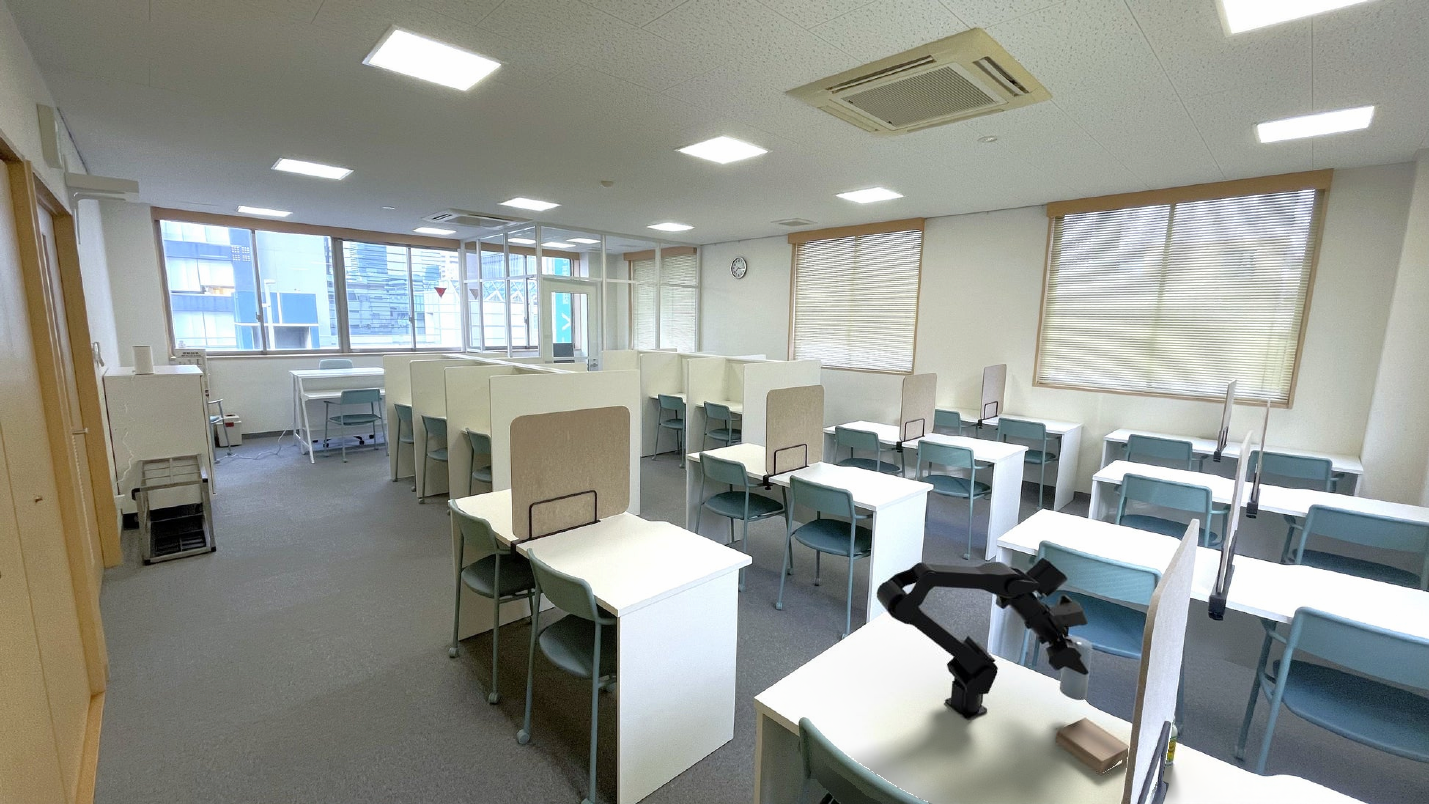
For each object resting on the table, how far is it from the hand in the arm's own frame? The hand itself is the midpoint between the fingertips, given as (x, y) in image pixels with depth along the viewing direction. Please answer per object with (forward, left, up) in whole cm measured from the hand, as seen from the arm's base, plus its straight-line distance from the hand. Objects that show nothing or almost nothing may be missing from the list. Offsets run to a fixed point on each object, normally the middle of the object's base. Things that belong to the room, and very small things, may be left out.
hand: (1083, 666), depth 123 cm
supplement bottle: (+4, -14, -13) cm, 19 cm away
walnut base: (-7, -8, -12) cm, 16 cm away
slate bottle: (-1, +1, -7) cm, 7 cm away
